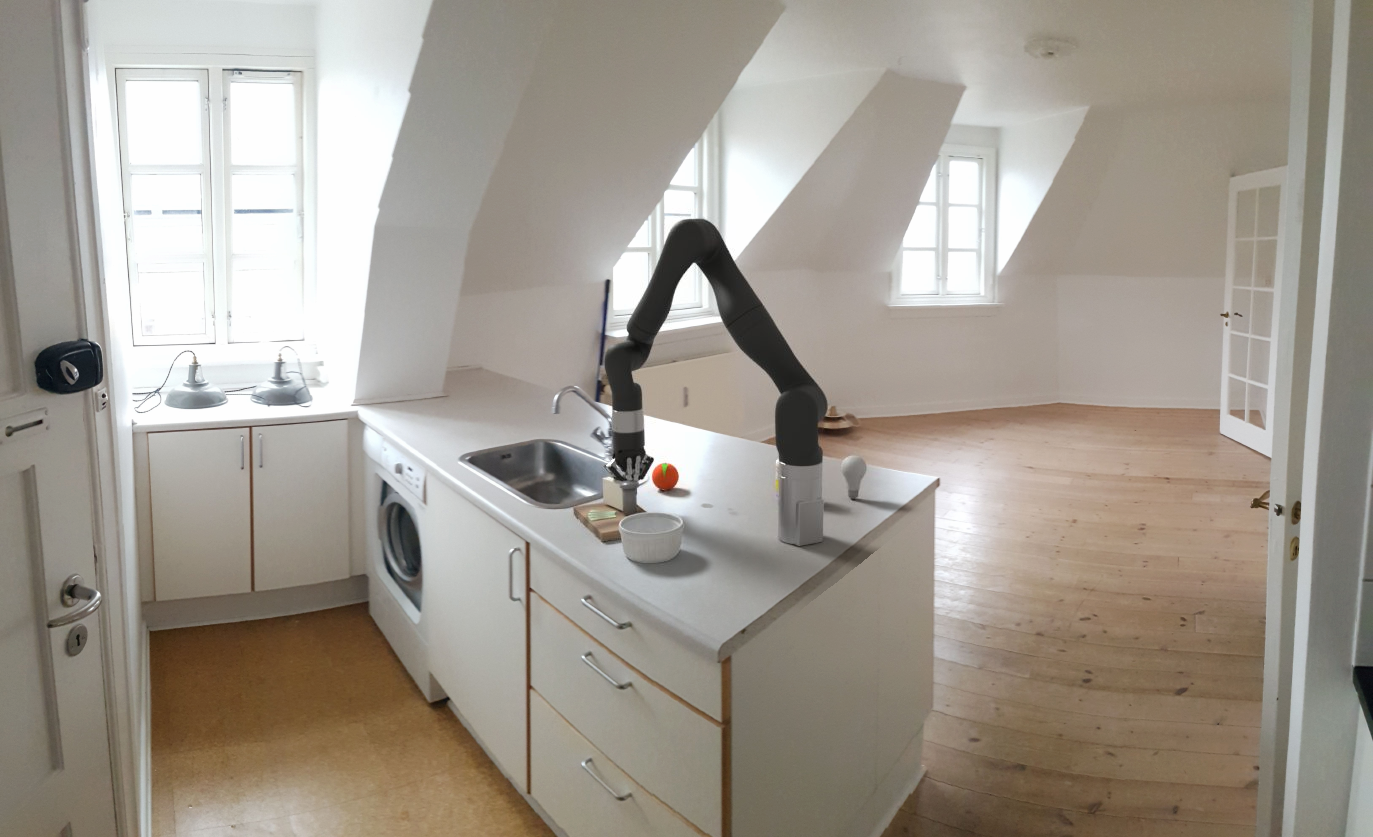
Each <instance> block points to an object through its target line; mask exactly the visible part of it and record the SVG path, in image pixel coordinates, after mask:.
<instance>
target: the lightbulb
mask: <svg viewBox="0 0 1373 837" xmlns="http://www.w3.org/2000/svg"><path fill="white" fill-rule="evenodd" d="M840 469H841V470H840V471H841V473H842V476H843V477H844V479H845V482H846V489H847V497H848V498H850V499H851V500H856V499H857V498H858V497H859V490H860V488H861V483H862V481H863V478H864V477H865V474H866V473H867V469H868V467H867V463H866V462H865V460H864V458H863V457H861V456H859V455H849V456H847V457H845V458H844V459H843V461H842V462H841V466H840Z"/></svg>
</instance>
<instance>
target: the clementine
mask: <svg viewBox="0 0 1373 837" xmlns="http://www.w3.org/2000/svg"><path fill="white" fill-rule="evenodd" d="M679 477H680V475H679V472H678V469H677V468H676V467H675V465H673V464H671V463H667V462H663V463H659V464H658V465H657V466H655V468H654V469H653V470H652V473H651V481H652V483H653V484H654V486H655V487H656V488H657V489H659V490H662V491H669V490H672V489H673V488H675V487H676V486H677V484H678V482H679V479H680V478H679Z"/></svg>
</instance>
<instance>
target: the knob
mask: <svg viewBox="0 0 1373 837" xmlns="http://www.w3.org/2000/svg"><path fill="white" fill-rule="evenodd" d="M639 487H640V482H639V481H635V480H625V481H619V480H616V479H614V478H613V477H612V476H606V477H602V493H603V498H602V499H603V502H604V503H606V504H608V505H610V506H613V507H615V508H617V509H620V510H622V511H623V514H625V515H634V514H636V513H637V505H638V503H637V501H638V500H637V495H638V494H637V495H636V488H637V489H638V488H639Z"/></svg>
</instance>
